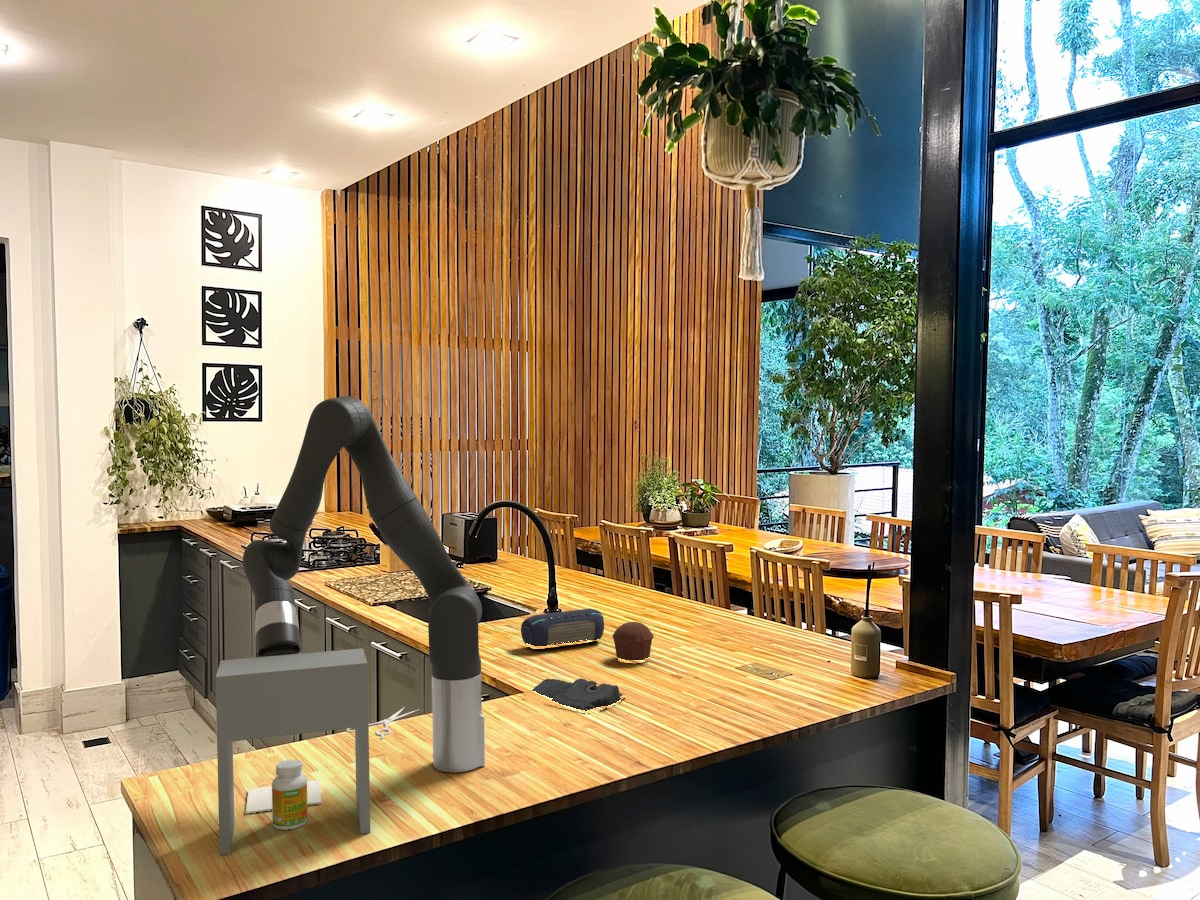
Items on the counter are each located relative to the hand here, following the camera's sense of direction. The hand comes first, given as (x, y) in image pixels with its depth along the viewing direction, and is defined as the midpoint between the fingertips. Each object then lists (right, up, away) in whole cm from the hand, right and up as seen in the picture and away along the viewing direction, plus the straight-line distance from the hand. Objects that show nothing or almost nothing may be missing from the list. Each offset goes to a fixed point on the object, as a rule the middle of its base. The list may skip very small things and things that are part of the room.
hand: (283, 712), depth 155 cm
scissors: (+8, -15, +41) cm, 44 cm away
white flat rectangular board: (0, -15, +1) cm, 15 cm away
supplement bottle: (+4, -16, -9) cm, 18 cm away
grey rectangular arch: (+6, -15, -11) cm, 20 cm away
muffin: (+63, -12, +90) cm, 111 cm away
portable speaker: (+44, -12, +107) cm, 116 cm away
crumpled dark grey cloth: (+48, -14, +56) cm, 75 cm away
